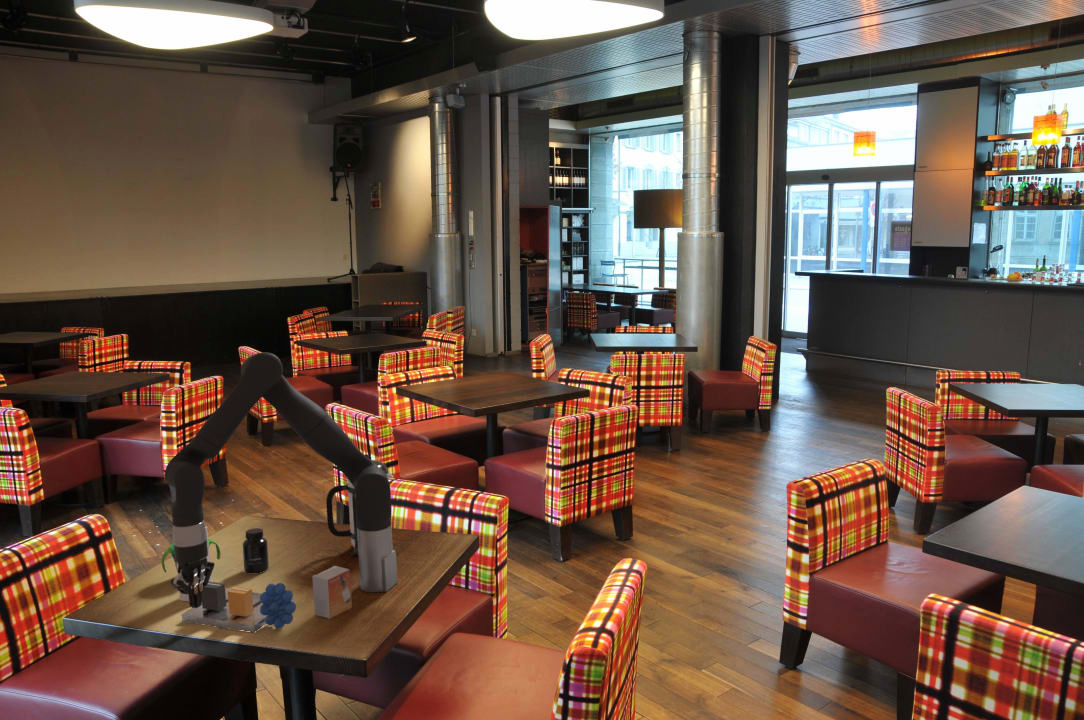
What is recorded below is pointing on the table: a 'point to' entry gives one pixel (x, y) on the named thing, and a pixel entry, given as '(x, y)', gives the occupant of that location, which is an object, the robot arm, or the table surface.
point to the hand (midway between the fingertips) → (196, 606)
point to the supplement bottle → (255, 551)
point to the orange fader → (240, 601)
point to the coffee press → (352, 508)
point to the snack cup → (171, 550)
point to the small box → (332, 592)
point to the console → (228, 616)
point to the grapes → (277, 605)
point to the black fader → (214, 596)
